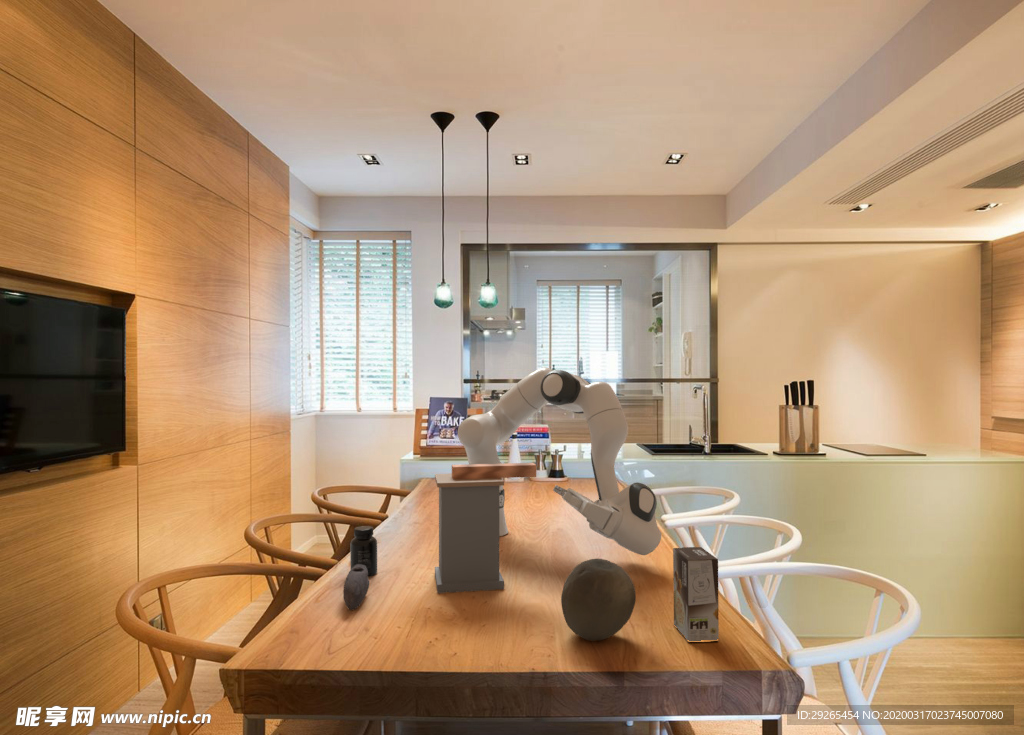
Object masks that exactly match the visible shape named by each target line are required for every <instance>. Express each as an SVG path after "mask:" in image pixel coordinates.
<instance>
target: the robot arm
mask: <svg viewBox="0 0 1024 735" xmlns="http://www.w3.org/2000/svg"><path fill="white" fill-rule="evenodd" d="M617 396H618V395H616V392H615V391H614V389H613V387H612V386H611V385H610V384H609V383H607V382H605V381H594V382H592V383H591V382H590V381H587V380H586V379H585V378H583V377H582V376H579V375H577V374H573V373H570V372H568V371H566V370H561V369H556V370H553V369H551V368H549V367H546V366H544V367H539V368H537V369H536V370H534V371H532V372H530V373H528V374H527V375H526V376H524V377H523V378H522V379H520V380H519V381H518V382H517V383H515V384H514V385H513V386H511V388H510V389H508V390H507V391H506V392H504V393H503V395H501V396H500V398H499V401H498V402H497V403H496V405H495V406H494V407H493V408H492V409H491V410H489V411H488V412H485V413H481V414H473V415H471V416H469V417H467V418H465V419H464V420H462V421H461V422H460V423H459V425H458V429H457V437H458V440H459V442H460V443H461V445H462V446H463V447H464V450H465V453H466V458H467V460H468V462H467V463H468V464H503V463H502V461H501V460H500V458H499V454H498V451H497V446H500V445H502V444H504V443H505V442H507V441H508V440H509V439H510V438H511V437H512V435H513V434H514V433H515V432H516V431H517V430H518V429H519V428H520V427H521V426H522V424H524V423H525V422H526V421H527V420H528V419H529V418H531V417H532V416H533V415H535V414H536V413H537V412H538V411H540V410H541V409H542V408H543V407H545V405H547V404H548V403H549V404H551V405H553V406H556V407H557V408H559V409H562V410H564V411H567V412H572V413H574V414H580V415H581V414H582V415H584V417H585V421H586V424H587V427H588V430H589V437H590V461H591V466H592V472H593V475H594V476H593V477H594V481H595V485H596V490H597V494H598V495H597V496H598V499H596V500H595V501H593V500H591V499H589V497H586V496H585V495H583V494H581V493H579V492H578V491H576V490H574V489H572V488H569V487H568V488H567V489H566V488H564V487H561V486H559V485H554V487H553V490H552V491H553V492H554V493H556V494H558V495H560V496H561V498H562V500H563V501H565V502H566V503H567V504H568V505H570V506H571V507H572V508H573V509H575V510H576V512H578V513H579V514H581V516H583V517H584V518H586V522H587V523H589V524H588V525H589V528H590V530H591V531H594V532H595V533H597V534H599V535H601V536H603V537H604V538H606V539H609V540H613V541H614V542H616V544H618V545H619V546H620V547H622V548H624V549H626V550H628V551H630V552H633V553H634V554H637V555H639V556H647V555H649V554H651V553H652V552H654V551H655V550H656V548H657V547H658V546H659V544H660V542H661V540H662V532H661V530H660V528H659V526H658V523H657V517H656V514H657V512H656V509H657V505H658V502H657V497H656V495H655V493H654V491H653V490H652V488H650V487H649V486H648V485H646V484H645V483H642V482H633V483H632V484H629V485H628V486H626V487H624V488H623V489H621V490H619V484H618V479H617V475H616V471H615V463H616V460H617V457H618V454H619V452H620V451H621V449H622V447H623V445H624V444H625V442H626V440H627V438H628V435H629V425H628V420H627V417H626V415H625V411H624V409H623V407H622V404H621V402H620V400H619V397H617ZM501 479H502V480H503V481H504V478H501ZM505 496H506V495H505V489H504V485H501V486H499V537H503V536H505V535H507V534H508V533H509V530H508V526H507V520H506V514H505V507H504V506H505V500H506V499H505Z"/></svg>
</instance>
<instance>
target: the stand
mask: <svg viewBox="0 0 1024 735" xmlns="http://www.w3.org/2000/svg"><path fill="white" fill-rule="evenodd" d="M434 479H435V483H436V487H437V488H438V566H434V578H435V587H436V593H437V594H444V593H445V594H446V592H449V593H462V592H463V593H464V591H466V592H478V591H479V592H480V590H483V591H496V590H495V589H500V590H505V580H504V578H503V575H502V573H501V572H500V536H499V486H501V485H503V486H505V481H504V479H503V480H502V479H501V478H481V479H452V473H434Z"/></svg>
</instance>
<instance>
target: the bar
mask: <svg viewBox="0 0 1024 735" xmlns="http://www.w3.org/2000/svg"><path fill="white" fill-rule="evenodd" d="M451 474H452V479H481V478H503V479H509V478H510V479H512V478H513V479H514V478H536V477H537V464H535V463H534V462H518V463H517V462H515V463H514V462H512V463H511V462H510V463H508V462H507V463H502V464H469V463H468V464H466V463H465V464H451Z"/></svg>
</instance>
